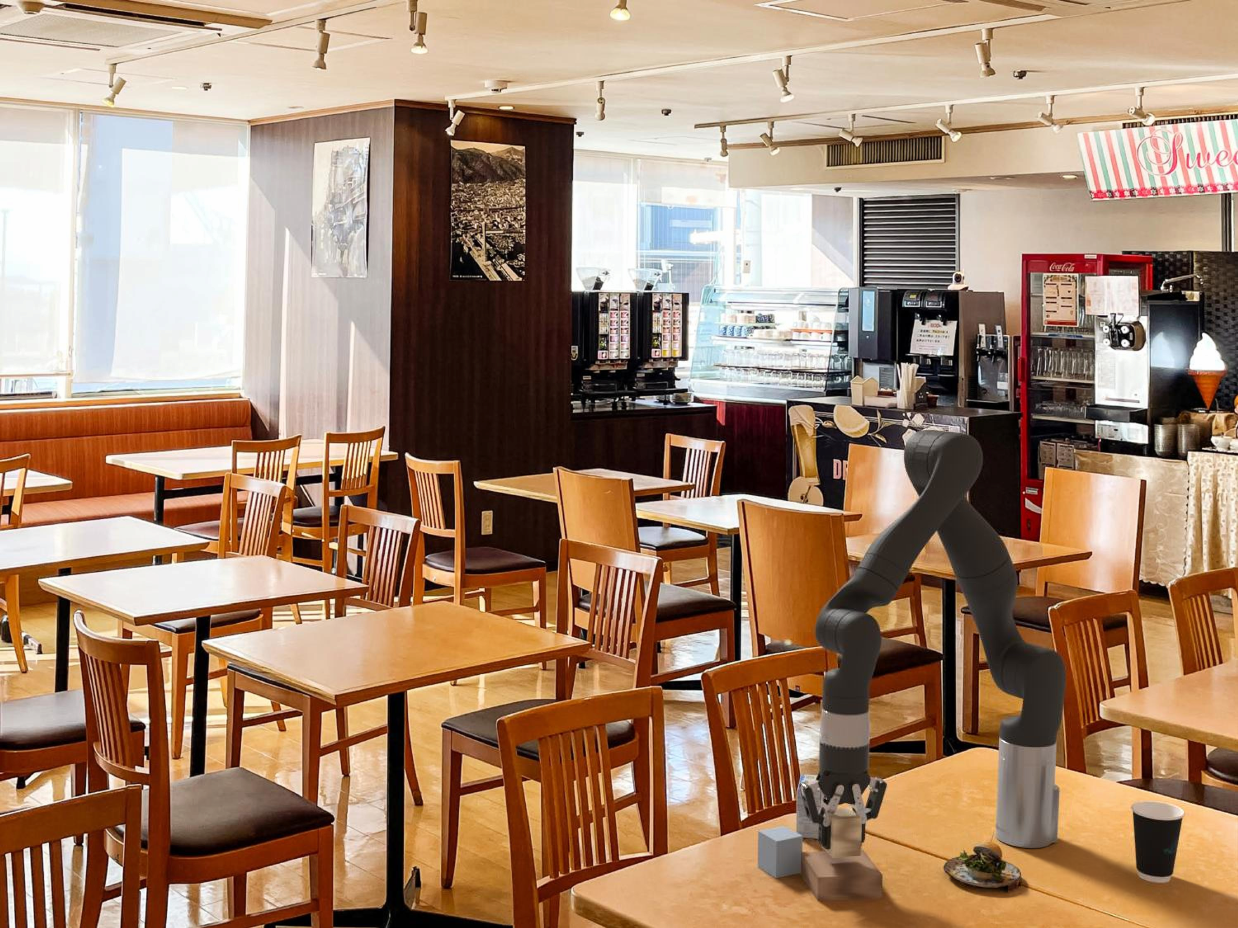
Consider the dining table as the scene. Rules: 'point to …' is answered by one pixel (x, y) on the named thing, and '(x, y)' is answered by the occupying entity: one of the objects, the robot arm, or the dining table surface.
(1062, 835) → the dining table surface
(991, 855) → the burger
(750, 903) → the dining table surface
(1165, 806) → the dixie cup
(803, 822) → the medicine box
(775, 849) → the slate block
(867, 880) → the walnut block
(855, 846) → the oak block
